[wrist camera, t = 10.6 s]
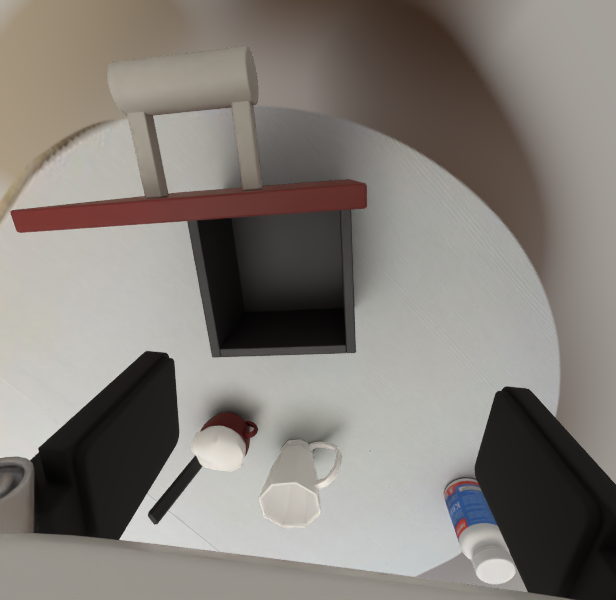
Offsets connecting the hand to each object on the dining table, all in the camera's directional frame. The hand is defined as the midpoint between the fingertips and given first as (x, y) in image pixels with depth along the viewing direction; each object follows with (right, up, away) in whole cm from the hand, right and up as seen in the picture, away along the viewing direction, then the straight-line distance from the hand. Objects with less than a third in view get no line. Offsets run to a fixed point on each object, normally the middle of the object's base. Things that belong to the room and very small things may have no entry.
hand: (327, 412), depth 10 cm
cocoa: (-11, -13, +35) cm, 39 cm away
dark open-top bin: (-3, +8, +27) cm, 28 cm away
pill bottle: (+20, -22, +36) cm, 47 cm away
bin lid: (-4, +8, +9) cm, 13 cm away
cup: (-1, -16, +36) cm, 39 cm away
